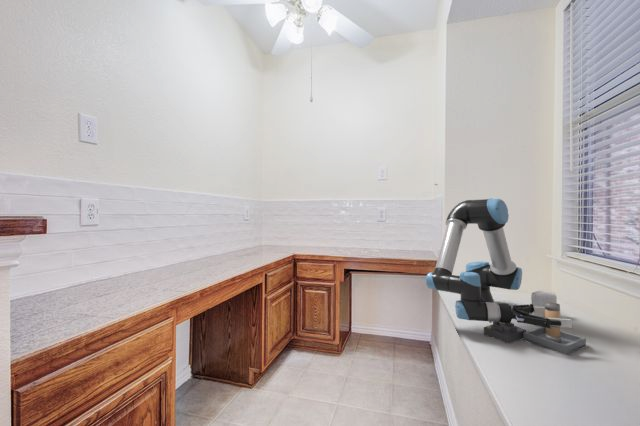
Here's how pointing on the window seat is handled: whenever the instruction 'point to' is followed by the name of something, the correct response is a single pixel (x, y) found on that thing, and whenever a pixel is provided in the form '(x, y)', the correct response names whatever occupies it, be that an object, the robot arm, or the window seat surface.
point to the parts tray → (566, 346)
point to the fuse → (553, 312)
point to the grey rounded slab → (542, 299)
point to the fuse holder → (504, 332)
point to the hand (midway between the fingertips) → (561, 317)
